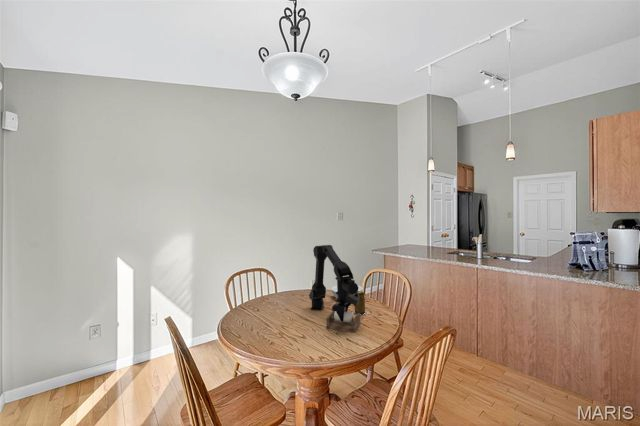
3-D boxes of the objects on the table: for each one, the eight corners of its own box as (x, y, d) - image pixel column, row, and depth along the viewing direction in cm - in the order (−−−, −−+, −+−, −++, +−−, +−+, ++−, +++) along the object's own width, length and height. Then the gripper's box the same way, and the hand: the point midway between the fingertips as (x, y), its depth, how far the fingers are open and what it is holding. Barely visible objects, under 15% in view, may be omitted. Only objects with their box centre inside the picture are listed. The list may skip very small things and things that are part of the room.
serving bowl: (357, 292, 214) (357, 283, 214) (367, 301, 194) (366, 291, 193) (328, 295, 211) (328, 285, 210) (335, 304, 190) (335, 293, 190)
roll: (334, 323, 156) (333, 314, 155) (337, 317, 161) (336, 308, 159) (351, 325, 153) (350, 316, 151) (354, 319, 157) (353, 310, 156)
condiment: (359, 309, 180) (359, 289, 180) (370, 313, 173) (370, 292, 173) (351, 312, 175) (350, 292, 175) (361, 316, 169) (361, 295, 168)
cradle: (326, 328, 154) (326, 317, 154) (333, 320, 164) (333, 310, 164) (355, 332, 148) (355, 321, 148) (360, 323, 159) (360, 313, 158)
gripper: (353, 296, 144) (354, 328, 145) (362, 285, 161) (362, 314, 162) (331, 294, 148) (332, 325, 149) (342, 284, 165) (343, 312, 166)
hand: (343, 319), depth 156 cm, fingers closed on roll, 5 cm apart
